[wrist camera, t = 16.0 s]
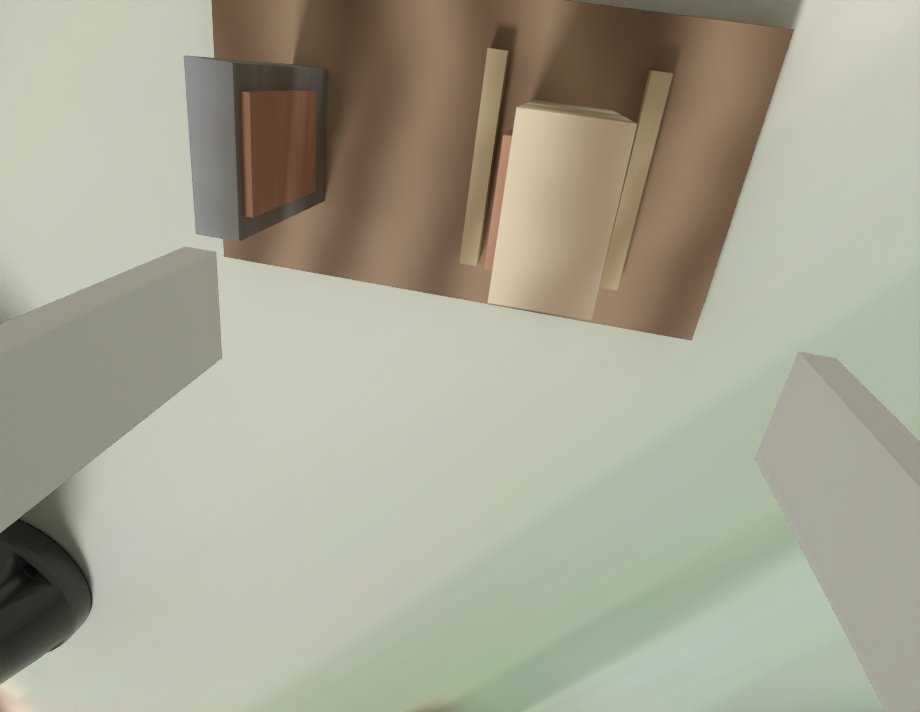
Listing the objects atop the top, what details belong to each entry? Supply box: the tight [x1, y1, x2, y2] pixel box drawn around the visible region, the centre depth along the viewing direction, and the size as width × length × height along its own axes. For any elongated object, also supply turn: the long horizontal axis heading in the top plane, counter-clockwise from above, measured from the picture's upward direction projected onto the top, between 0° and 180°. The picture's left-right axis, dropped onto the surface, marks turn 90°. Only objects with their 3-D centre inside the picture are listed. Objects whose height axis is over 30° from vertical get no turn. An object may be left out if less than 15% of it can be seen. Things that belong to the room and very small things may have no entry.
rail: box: [184, 0, 794, 340], centre depth 28 cm, size 29×16×12 cm, turn 82°
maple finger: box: [484, 100, 637, 320], centre depth 26 cm, size 4×7×12 cm, turn 173°
